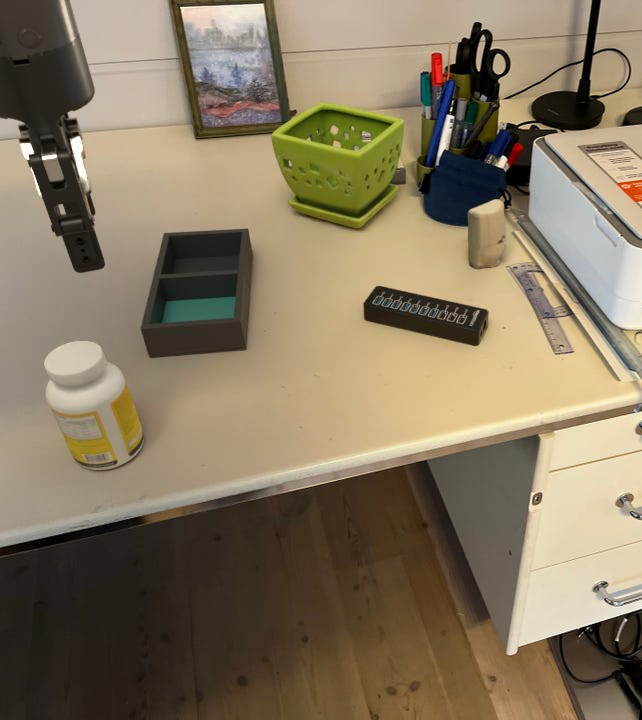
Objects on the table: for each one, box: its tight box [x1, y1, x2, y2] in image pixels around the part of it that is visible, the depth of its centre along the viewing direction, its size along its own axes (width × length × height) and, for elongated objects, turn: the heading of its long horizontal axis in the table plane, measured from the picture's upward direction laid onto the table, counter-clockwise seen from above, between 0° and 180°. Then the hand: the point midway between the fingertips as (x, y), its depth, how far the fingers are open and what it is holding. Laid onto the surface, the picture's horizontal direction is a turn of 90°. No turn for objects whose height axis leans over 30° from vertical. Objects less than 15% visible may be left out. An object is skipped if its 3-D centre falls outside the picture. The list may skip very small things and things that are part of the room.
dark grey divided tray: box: [140, 227, 254, 359], centre depth 90 cm, size 20×10×4 cm, turn 11°
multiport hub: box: [363, 285, 490, 347], centre depth 90 cm, size 4×14×2 cm, turn 73°
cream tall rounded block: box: [467, 198, 507, 269], centre depth 99 cm, size 6×5×8 cm
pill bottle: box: [43, 340, 145, 471], centre depth 69 cm, size 6×6×12 cm
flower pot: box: [270, 101, 405, 229], centre depth 106 cm, size 14×14×13 cm
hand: (86, 241), depth 61 cm, fingers open, 8 cm apart
